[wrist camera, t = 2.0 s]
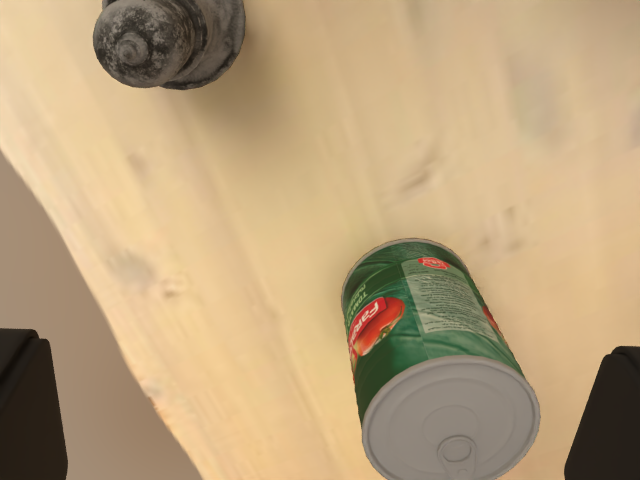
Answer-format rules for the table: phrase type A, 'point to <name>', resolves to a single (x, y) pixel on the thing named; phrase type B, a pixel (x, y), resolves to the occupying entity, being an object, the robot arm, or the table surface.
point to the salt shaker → (168, 41)
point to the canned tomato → (432, 368)
